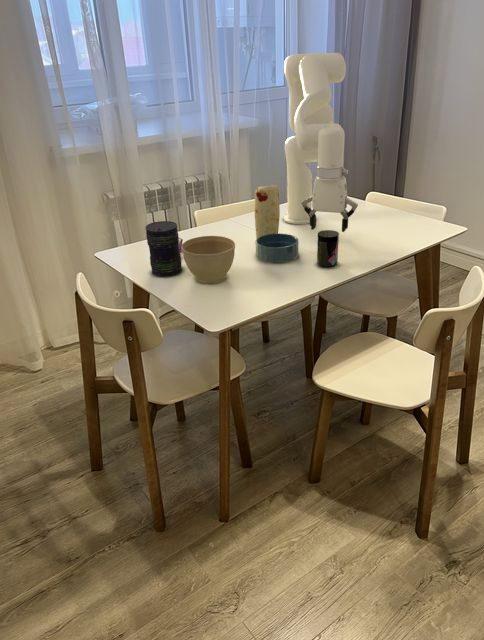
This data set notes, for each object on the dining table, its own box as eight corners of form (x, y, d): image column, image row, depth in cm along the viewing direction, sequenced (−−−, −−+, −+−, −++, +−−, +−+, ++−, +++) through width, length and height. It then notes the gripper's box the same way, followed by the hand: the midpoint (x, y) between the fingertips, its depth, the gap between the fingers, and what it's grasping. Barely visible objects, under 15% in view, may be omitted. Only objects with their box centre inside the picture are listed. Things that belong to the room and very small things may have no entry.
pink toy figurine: (167, 232, 185) (179, 239, 179) (180, 234, 188) (193, 240, 182) (163, 251, 187) (176, 258, 181) (176, 252, 191) (189, 259, 184)
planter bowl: (194, 292, 158) (190, 257, 152) (179, 273, 171) (175, 240, 165) (244, 282, 163) (243, 248, 158) (226, 264, 176) (224, 232, 170)
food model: (261, 246, 189) (260, 189, 179) (251, 241, 194) (248, 185, 184) (284, 240, 194) (283, 184, 184) (273, 235, 199) (272, 180, 188)
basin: (264, 247, 189) (264, 231, 186) (303, 250, 185) (303, 235, 182) (250, 261, 178) (249, 245, 175) (291, 266, 173) (291, 249, 170)
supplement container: (325, 270, 169) (326, 238, 164) (312, 264, 174) (313, 233, 169) (342, 265, 172) (343, 234, 167) (328, 259, 177) (329, 228, 172)
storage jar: (155, 265, 177) (148, 221, 169) (184, 265, 177) (179, 220, 169) (148, 277, 169) (141, 231, 161) (179, 277, 168) (174, 231, 160)
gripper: (361, 171, 159) (358, 228, 167) (305, 169, 164) (305, 224, 172) (356, 177, 152) (353, 235, 161) (298, 174, 158) (298, 231, 166)
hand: (328, 229), depth 167 cm, fingers open, 9 cm apart
